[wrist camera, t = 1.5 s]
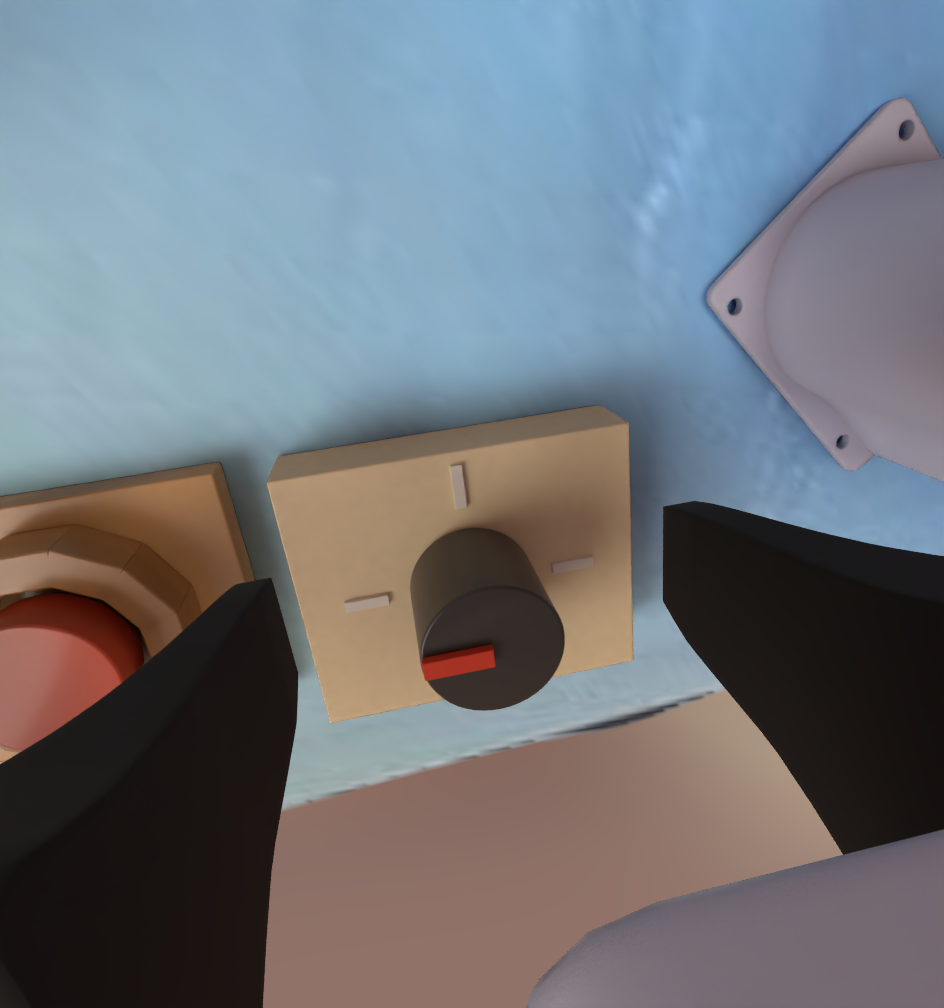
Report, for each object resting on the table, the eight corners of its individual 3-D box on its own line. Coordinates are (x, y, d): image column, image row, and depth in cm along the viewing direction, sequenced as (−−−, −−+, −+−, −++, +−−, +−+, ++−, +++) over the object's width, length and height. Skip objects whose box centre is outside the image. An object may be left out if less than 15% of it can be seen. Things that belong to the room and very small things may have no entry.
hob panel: (601, 404, 21) (632, 423, 19) (609, 623, 25) (636, 663, 23) (276, 456, 20) (265, 484, 18) (332, 678, 24) (330, 727, 21)
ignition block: (220, 461, 20) (198, 494, 17) (286, 685, 24) (276, 742, 21) (-134, 517, 19) (-217, 563, 16) (-9, 743, 22) (-61, 812, 20)
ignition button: (117, 579, 18) (94, 611, 17) (164, 698, 20) (146, 737, 18) (-44, 607, 18) (-84, 643, 16) (18, 727, 19) (-12, 769, 18)
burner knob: (526, 516, 20) (565, 579, 16) (535, 622, 21) (573, 702, 18) (400, 539, 19) (410, 608, 16) (419, 645, 21) (432, 732, 17)
